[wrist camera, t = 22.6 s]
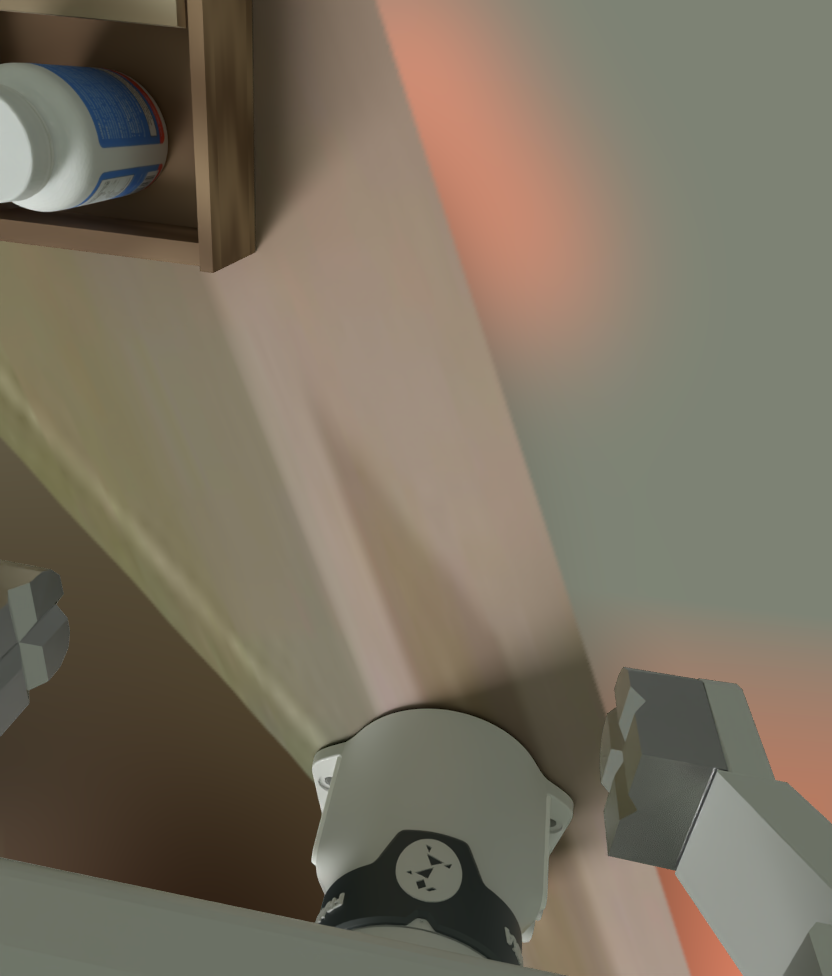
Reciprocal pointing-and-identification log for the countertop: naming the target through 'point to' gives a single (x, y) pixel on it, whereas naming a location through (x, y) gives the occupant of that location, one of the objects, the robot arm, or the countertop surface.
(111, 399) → the countertop surface
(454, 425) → the countertop surface
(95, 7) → the lid
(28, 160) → the pill bottle
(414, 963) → the robot arm
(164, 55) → the lid box
